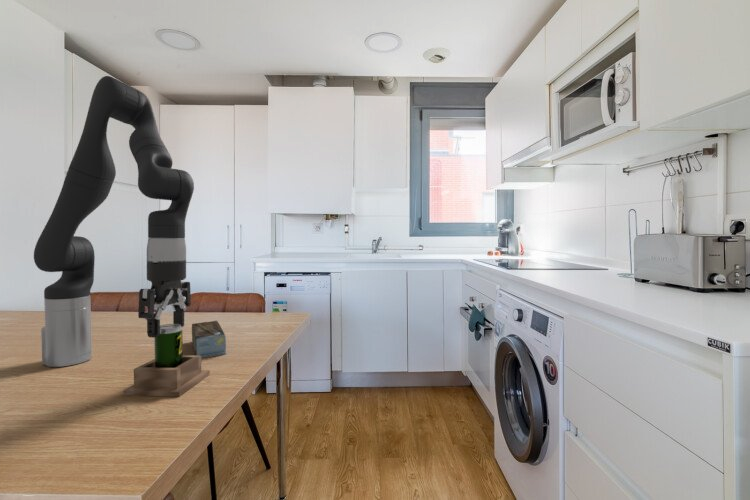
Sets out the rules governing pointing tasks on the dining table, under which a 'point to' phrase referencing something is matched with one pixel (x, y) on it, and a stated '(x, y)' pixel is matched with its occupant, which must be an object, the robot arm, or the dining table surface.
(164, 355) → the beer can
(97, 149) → the robot arm
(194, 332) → the beverage carton
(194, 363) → the walnut holder
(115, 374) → the dining table surface
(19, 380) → the dining table surface
